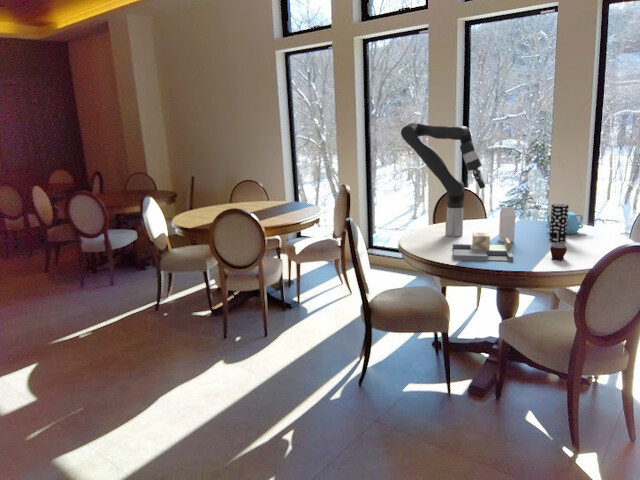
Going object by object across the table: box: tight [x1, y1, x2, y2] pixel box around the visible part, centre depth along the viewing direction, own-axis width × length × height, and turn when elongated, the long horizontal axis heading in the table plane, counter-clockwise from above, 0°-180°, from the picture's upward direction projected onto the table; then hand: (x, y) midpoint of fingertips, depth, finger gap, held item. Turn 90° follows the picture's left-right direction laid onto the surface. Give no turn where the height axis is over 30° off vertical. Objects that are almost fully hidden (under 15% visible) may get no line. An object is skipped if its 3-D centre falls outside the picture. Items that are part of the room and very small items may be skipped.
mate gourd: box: [549, 232, 568, 262], centre depth 241 cm, size 8×8×15 cm
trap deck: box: [452, 238, 514, 262], centre depth 255 cm, size 28×22×6 cm
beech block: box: [471, 232, 491, 250], centre depth 259 cm, size 8×8×7 cm
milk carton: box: [498, 206, 516, 243], centre depth 280 cm, size 7×7×19 cm
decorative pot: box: [545, 211, 584, 235], centre depth 293 cm, size 16×16×14 cm
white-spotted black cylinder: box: [548, 203, 570, 243], centre depth 274 cm, size 8×8×20 cm
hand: (482, 188), depth 273 cm, fingers open, 8 cm apart
